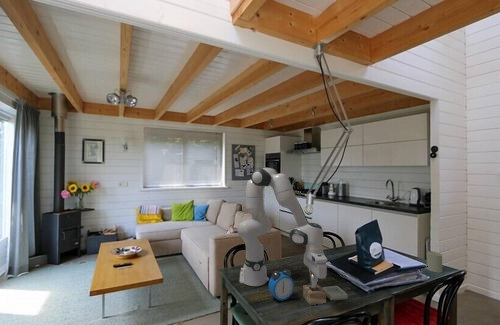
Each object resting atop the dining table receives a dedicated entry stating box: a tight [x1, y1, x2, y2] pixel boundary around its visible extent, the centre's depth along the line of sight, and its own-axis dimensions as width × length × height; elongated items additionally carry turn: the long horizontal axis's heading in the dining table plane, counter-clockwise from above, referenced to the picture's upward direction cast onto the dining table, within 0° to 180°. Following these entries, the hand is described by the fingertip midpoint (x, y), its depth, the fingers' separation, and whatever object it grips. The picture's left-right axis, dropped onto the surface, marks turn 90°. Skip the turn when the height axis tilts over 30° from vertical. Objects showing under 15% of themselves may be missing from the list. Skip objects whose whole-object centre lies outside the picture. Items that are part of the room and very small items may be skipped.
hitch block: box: [302, 283, 327, 306], centre depth 135 cm, size 9×9×6 cm
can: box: [425, 250, 443, 274], centre depth 177 cm, size 9×9×12 cm
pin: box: [310, 271, 318, 291], centre depth 136 cm, size 3×3×14 cm
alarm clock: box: [268, 269, 295, 302], centre depth 137 cm, size 13×6×15 cm, turn 113°
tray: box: [321, 285, 349, 302], centre depth 141 cm, size 10×10×2 cm
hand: (313, 279), depth 136 cm, fingers closed on pin, 3 cm apart
